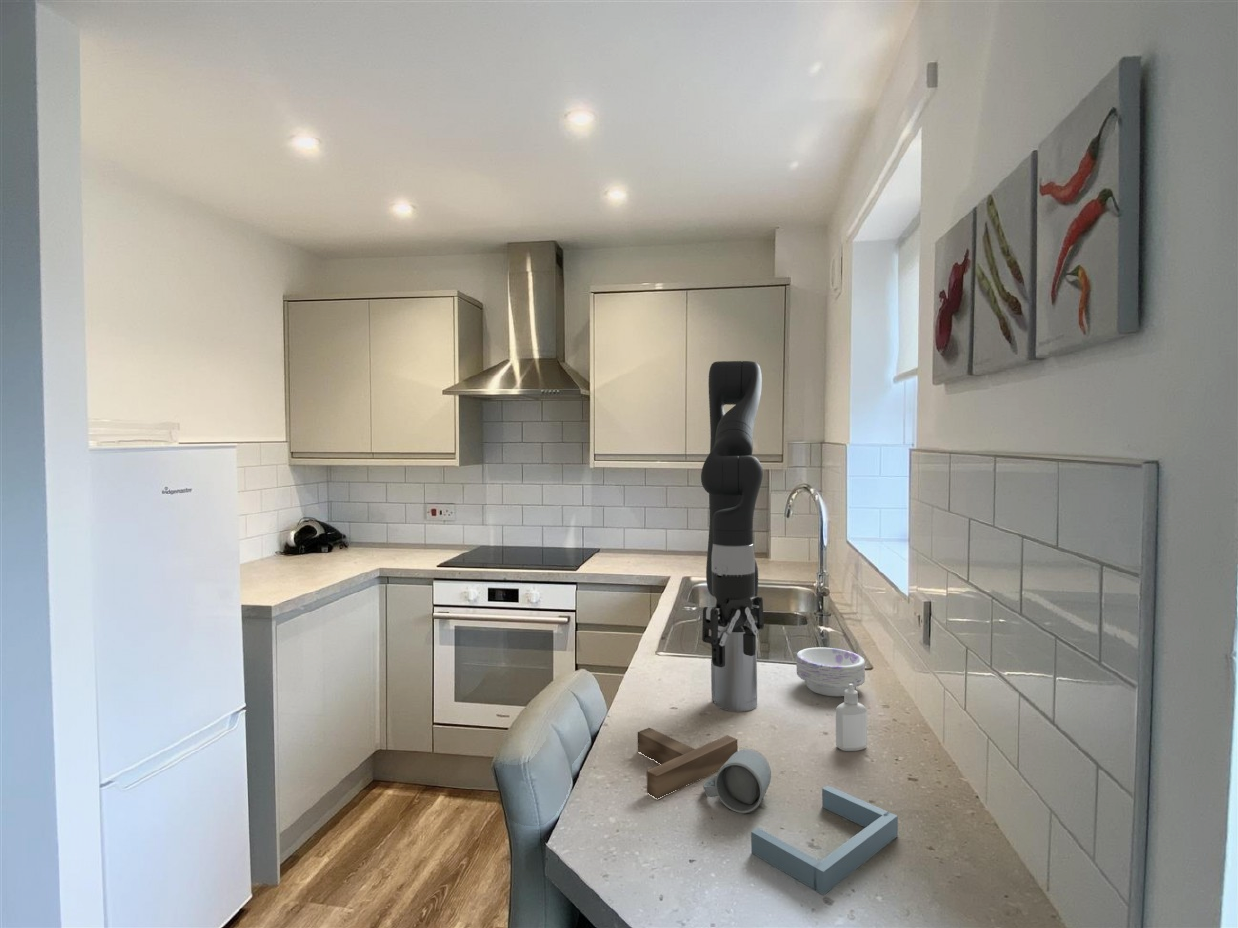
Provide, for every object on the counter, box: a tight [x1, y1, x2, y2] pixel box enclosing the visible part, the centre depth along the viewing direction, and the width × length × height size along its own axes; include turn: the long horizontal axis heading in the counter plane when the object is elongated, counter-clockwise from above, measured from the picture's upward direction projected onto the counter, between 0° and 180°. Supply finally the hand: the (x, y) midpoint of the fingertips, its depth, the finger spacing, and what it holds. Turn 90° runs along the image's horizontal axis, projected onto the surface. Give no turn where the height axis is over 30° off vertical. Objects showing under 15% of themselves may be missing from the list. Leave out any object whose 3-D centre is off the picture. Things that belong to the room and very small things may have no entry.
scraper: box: [637, 727, 739, 799], centre depth 118 cm, size 14×20×4 cm
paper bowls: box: [795, 646, 866, 697], centre depth 152 cm, size 15×15×8 cm
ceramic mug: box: [702, 748, 772, 814], centre depth 106 cm, size 11×8×8 cm
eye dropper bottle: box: [835, 684, 868, 752], centre depth 123 cm, size 4×6×12 cm
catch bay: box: [750, 784, 899, 896], centre depth 93 cm, size 12×19×3 cm, turn 130°
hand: (734, 660), depth 115 cm, fingers open, 8 cm apart
